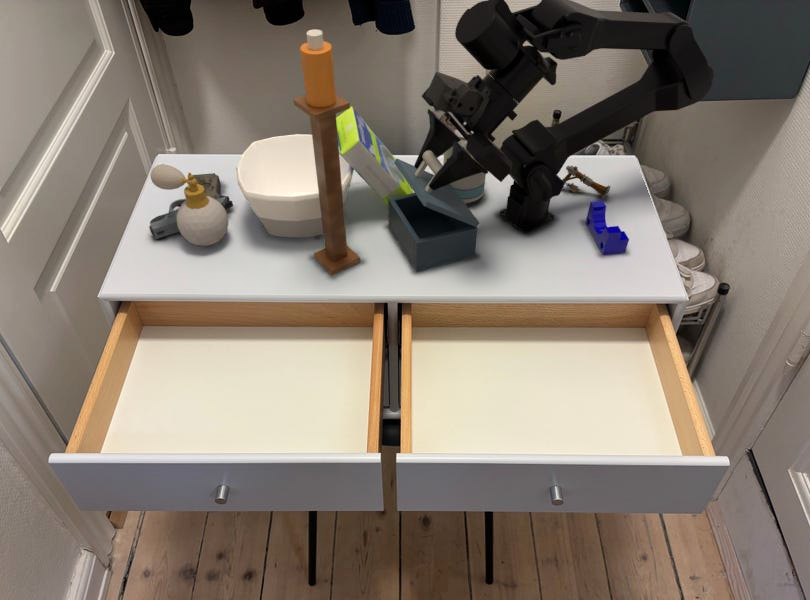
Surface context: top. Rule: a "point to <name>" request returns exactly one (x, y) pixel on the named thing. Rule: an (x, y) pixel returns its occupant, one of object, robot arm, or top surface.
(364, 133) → the box
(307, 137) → the bowl
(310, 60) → the detergent bottle
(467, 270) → the top surface
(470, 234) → the compartment
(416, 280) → the top surface
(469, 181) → the beverage can
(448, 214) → the lid
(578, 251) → the top surface
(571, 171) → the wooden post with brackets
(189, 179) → the perfume bottle
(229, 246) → the top surface
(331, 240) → the stand
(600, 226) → the cable holder
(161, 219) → the handgun
